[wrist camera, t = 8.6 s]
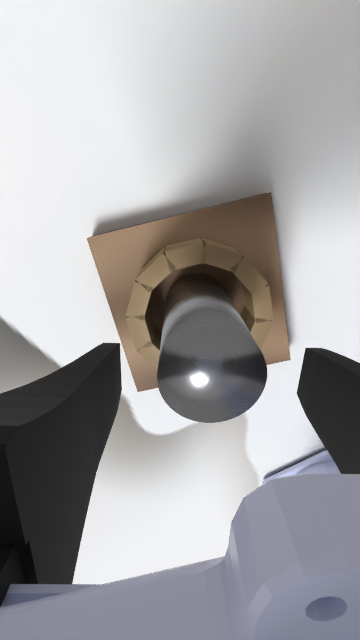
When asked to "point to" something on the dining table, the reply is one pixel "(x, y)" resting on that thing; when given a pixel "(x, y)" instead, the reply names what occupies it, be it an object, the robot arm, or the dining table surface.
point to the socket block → (189, 258)
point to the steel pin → (207, 353)
